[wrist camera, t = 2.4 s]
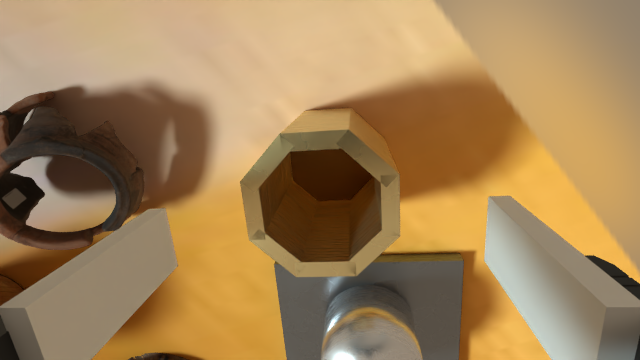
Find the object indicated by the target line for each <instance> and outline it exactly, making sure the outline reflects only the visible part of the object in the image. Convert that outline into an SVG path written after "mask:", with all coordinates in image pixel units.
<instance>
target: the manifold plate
mask: <svg viewBox="0 0 640 360" xmlns="http://www.w3.org/2000/svg"><path fill="white" fill-rule="evenodd" d="M274 267H275V274H276V282H277V289H278V297H279V304H280V312H281V319H282V327H283V334H284V342H285V349H286V357H287V360H459V343H460V324H461V305H462V286H463V267H464V260H463V258H462V257H461V255H460V253H442V254H395V255H379V256H378V257H377V258H376V259H375V260H374V261H372V262H371V263H370V264H369V265H368V266H367V267H366V268H365V269H364V270H363V271H362V272H361V273H359V274H358V275H357V276H338V277H295V276H294V275H293V274H292V273H290V272H289V271H288V270H286V269H285V268H284V267H283V266H281V265H280V264H279V263H278V262H276V261H275V264H274Z"/></svg>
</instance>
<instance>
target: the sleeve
mask: <svg viewBox="0 0 640 360" xmlns="http://www.w3.org/2000/svg"><path fill="white" fill-rule="evenodd" d="M327 149H343V150H344V151H345V152H346V153H347V154H348V155H350V156H351V157H352V158H353V159H354V160H355V161H357V162H358V163H359V164H360V165H361V166H362V167H363V168H365V169H366V170H367V171H368V172H369V173H370V174H371V175H373V177H372V178H371V179H370V180H369V181H368V182H367V183H366V184H365V185H364V186H363V187H362V188H361V189H360V190H359V191H358V192H357V193H356V194H355V195H354V196H353V198H352V199H351V200H331V201H317V200H316V199H315V198H314V197H312V196H311V195H310V194H309V193H308V192H307V191H305V190H304V189H303V188H302V187H301V186H299V185H298V184H297V183H296V182H295V181H293V175H292V165H291V156H290V152H291V151H309V150H327ZM240 184H241V191H242V197H243V204H244V210H245V217H246V223H247V230H248V236H249V240H250V241H251V242H252V243H253V244H255V245H256V246H257V247H259V248H260V249H261V250H262V251H264V252H265V253H266V254H267V255H269V256H270V257H271V258H273V259H274V260H275V261H276V262H278V263H279V264H280V265H281V266H283V267H284V268H285V269H286V270H288V271H289V272H290V273H292V274H293V275H294V276H295V277H338V276H357V275H358V274H359V273H361V272H362V271H363V270H364V269H365V268H366V267H367V266H368V265H369V264H370V263H371V262H372V261H374V260H375V259H376V258H377V257H378V256H379V255H380V254H381V253H382V252H383V251H384V250H386V249H387V248H388V247H389V246H390V245H391V244H392V243H393V242H394V241H395V240H396V239H397V238H399V237H400V174H399V172H398V169H397V167H396V165H395V162H394V160H393V157H392V155H391V153H390V150H389V148H388V146H387V143H386V141H385V138H384V137H383V136H382V135H381V134H379V133H378V132H377V131H376V130H375V129H374V128H373V127H372V126H371V125H369V124H368V123H367V122H366V121H365V120H364V119H363V118H362V117H360V116H359V115H358V114H357V113H356V112H355V111H354V110H353V109H352V108H338V109H323V110H309V111H304V112H303V113H302V114H301V115H300V116H299V117H298V118H297V119H295V120H294V121H293V122H292V123H291V124H290V125H289V126H288V127H287V128H286V129H284V130H283V131H282V132H281V133H280V134H279V135H278V137H277V138H276V139H275V140H274V141H273V143H272V144H271V145H270V146H269V147H268V149H267V150H266V151H265V152H264V153H263V155H262V156H261V157H260V158H259V160H258V161H257V162H256V163H255V164H254V166H253V167H252V168H251V169H250V170H249V172H248V173H247V174H246V175H245V176H244V178H243V179H242V180H241V181H240Z"/></svg>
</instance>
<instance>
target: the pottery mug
mask: <svg viewBox="0 0 640 360" xmlns="http://www.w3.org/2000/svg"><path fill="white" fill-rule="evenodd" d="M53 97H54V94H53V92H45V93H39V94H35V95H31V96H28V97H26V98H24V99H22V100H21V101H19V102H17V103H15V104H14V105H12V106H11V107H10V108H9V109H8V110H6V111H3V112H2V113H1V112H0V233H1V234H2V235H4V236H5V237H7V238H8V239H12V240H14V241H15V242H18V243H22V244H24V245H28V246H31V247H36V248H41V249H48V250H53V249H54V250H69V249H75V248H81V247H85V246H88V245H91V244H92V242H93V236H95V235H98V234H100V233H102V232H105V231H115V230H117V229H119V228H120V227H121V226H122V224H123V223H124V221H125V220H127V219H128V218H129V217H130V216H131V215H132V214H133V213H135V212H136V211H137V210H138V208H139V206H140V203H141V200H142V197H143V192H144V180H143V171H142V169H141V168H138V167H136V166H137V160H136V158H135V157H134V156H133V155H132V154H131V153H130V152H129V151H128V150H127V149H126V148H125V147H124V146H123V145H122V143H121V142H120V141H119V139H118V138H117V136H116V134H115V131H114V129H113V127H112V125H111V124H110V122H109V121H106V122H105V123H104V124H103V125H101V126H100V127H98V128H95V129H94V130H92V131H91V132H88V133H86V134H84V135H82V136H77V135H76V132H75V128H74V126H73V125H72V124H71V123H70V122H69V121H68V120H67V119H66V118H64V117H62V116H61V115H60V114H59V112H58V111H57V110H56V109H55V108H53V107H37V108H36V109H35V112H34V113H33V116H32V118H31V119H30V120H28V121H27V122H26V124H25V125H24V120H25V118H26V116H27V115H28V113H29V112H30V111H31V110H32V109H33V108H34V107H36V106H37V105H38V104H40V103H42V102H44V101H46V100H49V99H51V98H53ZM37 155H64V156H70V157H75V158H79V159H81V160H83V161H86V162H88V163H90V164H91V165H93V166H94V167H96V168H98V169H99V170H100V171H102V172H103V173H104V174H105V175H106V176H107V177H108V178H109V179H110V181H111V183H112V184H113V187H114V189H115V194H116V205H115V208H114V210H113V212H112V213H111V215H110V216H109V217H108V218H107V219H106V221H105V222H103V223H102V224H100V225H98V226H96V227H93V228H89V229H85V230H81V231H75V232H51V231H45V230H40V229H36V228H33V227H31V226H28V225H26V220H27V219H28V217H29V215H30V212H31V210H32V209H33V208H34V207H35V206H36V205H37V204H38V202H39V200H40V199H42V198H43V197H44V196H45V193H44V192H43V190H42V189H40V188H39V187H38V186H37V185H36V183H35V181H34V180H33V179H32V178H30V177H23V176H20V175H18V174H13V173H10V171H12V170H13V169H15V168H16V167H18V166H19V165H20V164H21V163H22V162H23V161H26V160H28V159H30V158H32V156H37Z"/></svg>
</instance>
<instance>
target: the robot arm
mask: <svg viewBox="0 0 640 360" xmlns="http://www.w3.org/2000/svg"><path fill="white" fill-rule="evenodd" d="M484 261H485V262H486V264H487V265H488V267H489V268H490V270H491V271H492V273H493V274H494V276H495V277H496V279H497V280H498V281H499V283H500V284H501V286H502V287H503V289H504V290H505V292H506V293H507V295H508V296H509V298H510V299H511V301H512V302H513V304H514V305H515V306H516V308H517V309H518V311H519V312H520V314H521V315H522V317H523V318H524V320H525V321H526V323H527V324H528V326H529V327H530V329H531V330H532V331H533V333H534V334H535V336H536V337H537V339H538V340H539V342H540V343H541V345H542V346H543V348H544V349H545V351H546V352H547V354H548V355H549V356H550V358H551V359H552V360H640V284H639V283H638V282H636V281H635V280H634V279H632V278H629V277H628V275H627V274H626V273H624V272H623V271H622V270H620V269H619V268H618V267H616V266H615V265H613V264H611V263H609V262H607V261H605V260H602V259H600V258H598V257H596V256H584V255H583V254H582V253H580V252H579V251H578V250H577V249H575V248H574V247H573V246H572V245H570V244H569V243H568V242H567V241H565V240H564V239H563V238H562V237H560V236H559V235H558V234H557V233H555V232H554V231H553V230H552V229H551V228H549V227H548V226H547V225H546V224H544V223H543V222H542V221H541V220H539V219H538V218H537V217H536V216H534V215H533V214H532V213H531V212H529V211H528V210H527V209H526V208H524V207H523V206H522V205H521V204H519V203H518V202H517V201H516V200H514V199H513V198H512V197H511V196H490V197H489V198H488V213H487V229H486V244H485V259H484ZM177 266H178V264H177V259H176V255H175V250H174V245H173V241H172V236H171V232H170V227H169V222H168V218H167V213H166V208H162V209H148V210H146V211H145V212H143V213H142V214H140V215H139V216H137V217H136V218H134V219H133V220H131V221H130V222H128V223H127V224H125V225H123V226H122V227H120V228H119V229H117V230H116V231H114V232H113V233H111V234H110V235H108V236H107V237H105V238H104V239H102V240H101V241H99V242H98V243H96V244H94V245H93V246H91V247H90V248H88V249H87V250H85V251H84V252H82V253H81V254H79V255H78V256H76V257H75V258H73V259H72V260H70V261H69V262H67V263H65V264H64V265H62V266H61V267H59V268H58V269H56V270H55V271H53V272H52V273H50V274H49V275H47V276H46V277H44V278H43V279H41V280H40V281H38V282H36V283H35V284H33V285H32V286H30V287H29V288H27V289H26V290H24V291H23V292H21V293H20V294H18V295H17V296H15V297H14V298H12V299H11V300H9V301H7V302H6V303H4V304H3V305H1V306H0V360H91V359H92V358H93V357H94V356H95V355H96V354H97V353H98V351H99V350H100V349H101V348H102V347H103V346H104V345H105V344H106V343H107V342H108V341H109V340H110V338H111V337H112V336H113V335H114V334H115V333H116V332H117V331H118V330H119V329H120V328H121V327H122V326H123V324H124V323H125V322H126V321H127V320H128V319H129V318H130V317H131V316H132V315H133V314H134V313H135V311H136V310H137V309H138V308H139V307H140V306H141V305H142V304H143V303H144V302H145V301H146V300H147V299H148V297H149V296H150V295H151V294H152V293H153V292H154V291H155V290H156V289H157V288H158V287H159V286H160V284H161V283H162V282H163V281H164V280H165V279H166V278H167V277H168V276H169V275H170V274H171V273H172V272H173V270H174V269H175V268H176V267H177Z"/></svg>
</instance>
